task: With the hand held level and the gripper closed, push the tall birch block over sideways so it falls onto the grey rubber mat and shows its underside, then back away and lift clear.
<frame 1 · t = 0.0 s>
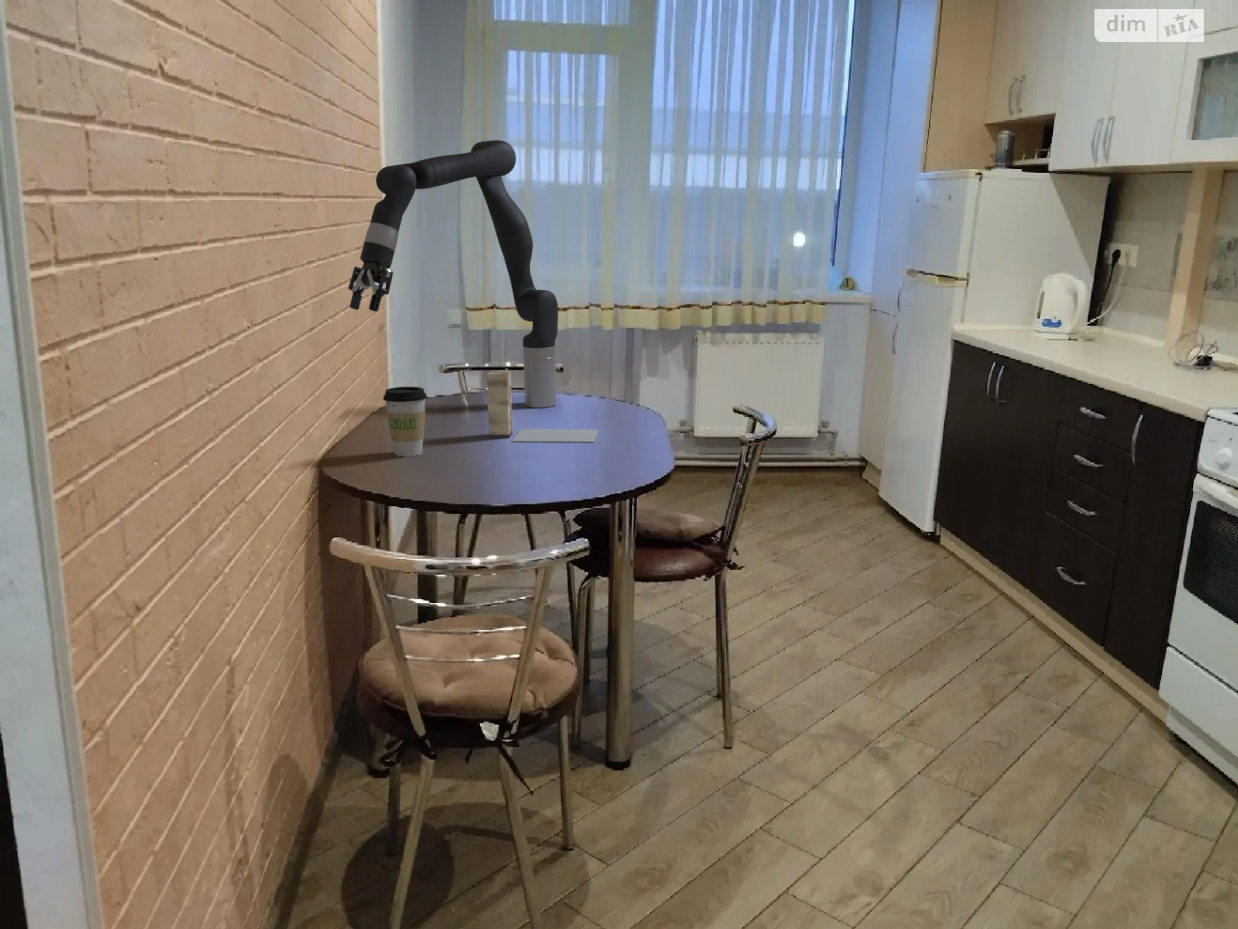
hand: (363, 309, 237), 31 cm above the table, tool tilted 20°, fingers open, 8 cm apart
coffee cup: (408, 454, 226), on the table
grey mat: (556, 436, 243), on the table
birch block: (501, 435, 244), on the table
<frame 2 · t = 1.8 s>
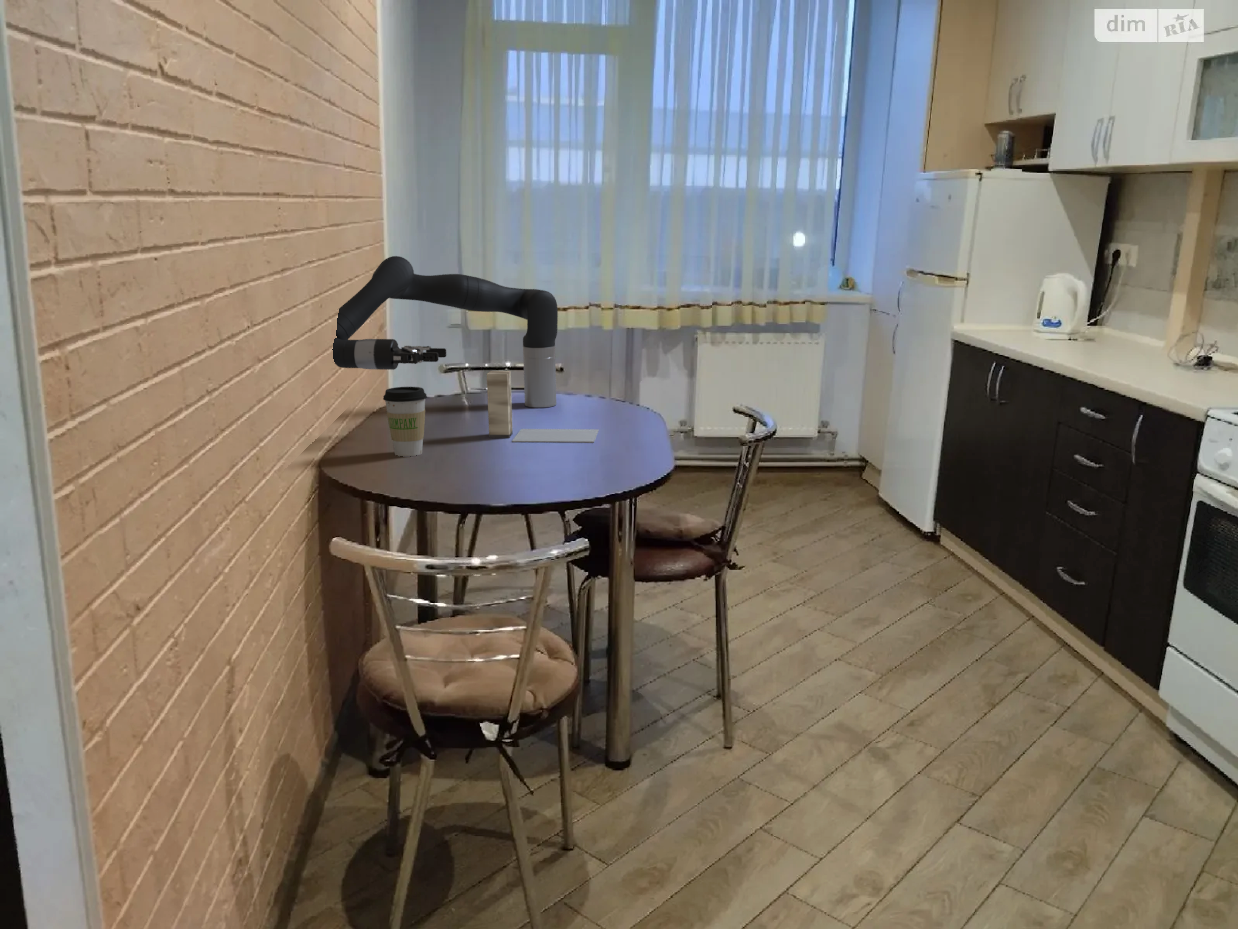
hand: (442, 354, 240), 20 cm above the table, tool horizontal, fingers open, 7 cm apart
nothing on the table moved.
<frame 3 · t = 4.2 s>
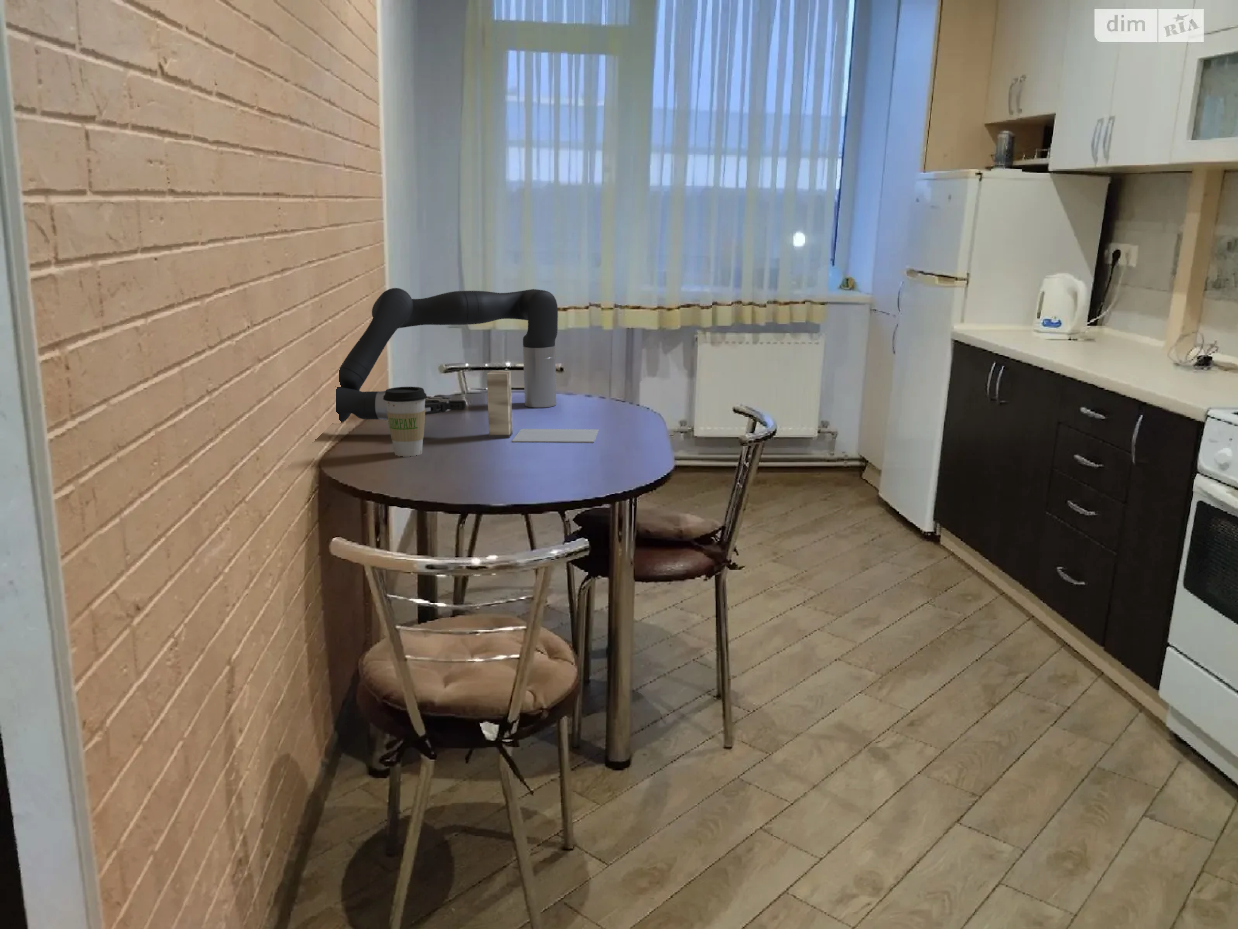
hand: (465, 404, 243), 8 cm above the table, tool horizontal, fingers closed
nothing on the table moved.
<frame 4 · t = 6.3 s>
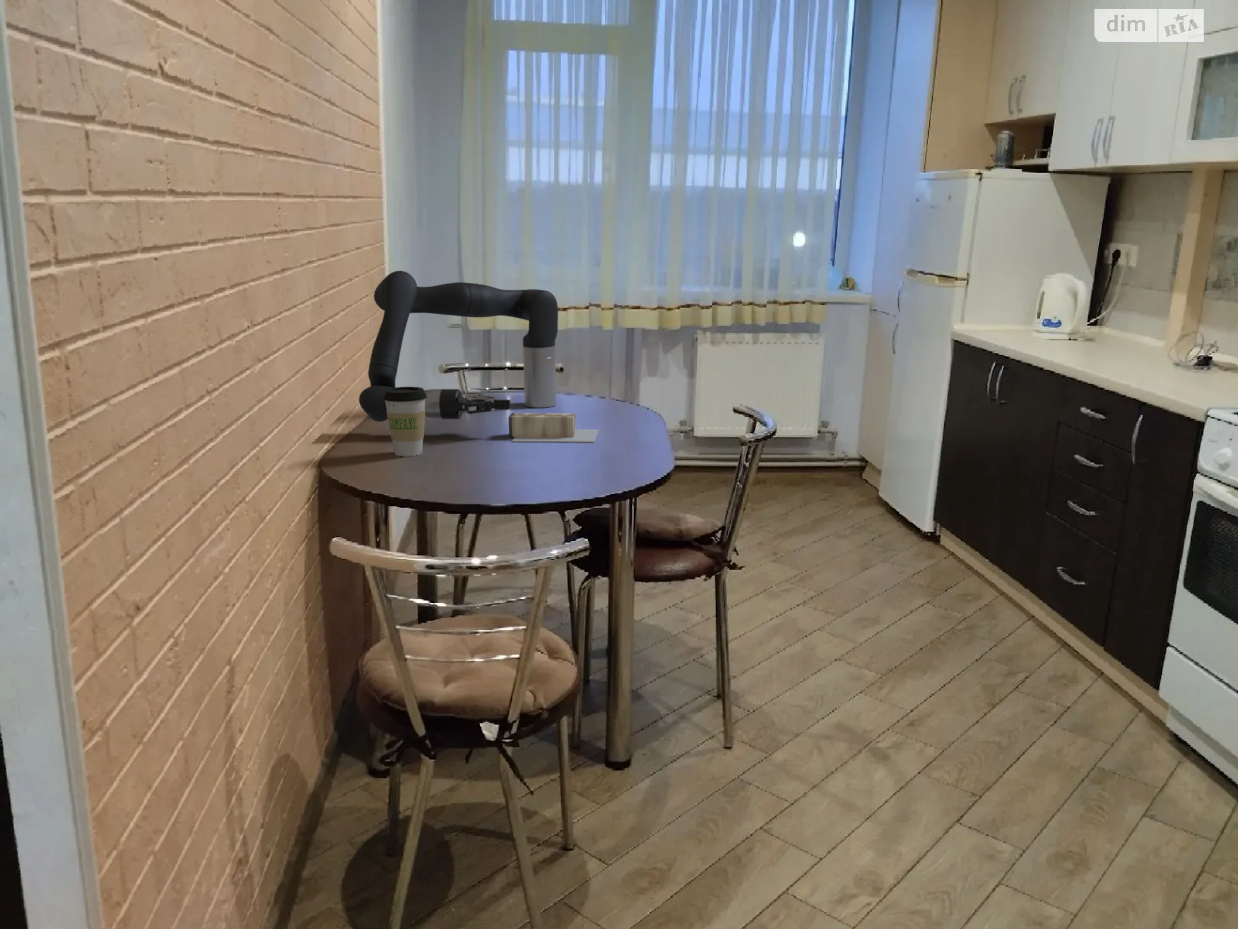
hand: (510, 404, 242), 8 cm above the table, tool horizontal, fingers closed
birch block: (510, 424, 243), point 3 cm above the table, tilted 90°, touching grey mat
everything else where it was.
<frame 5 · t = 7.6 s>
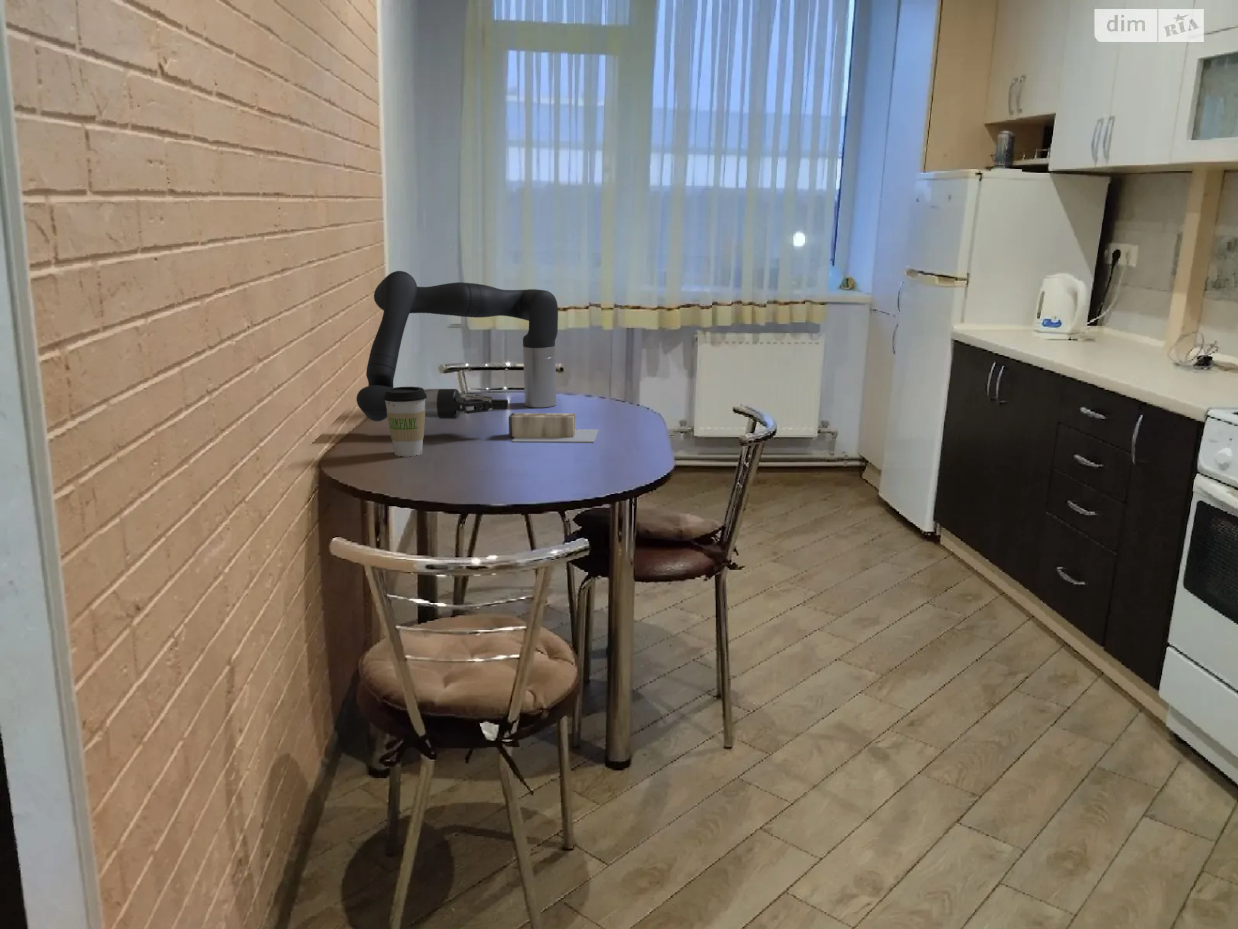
hand: (507, 404, 242), 8 cm above the table, tool horizontal, fingers closed
nothing on the table moved.
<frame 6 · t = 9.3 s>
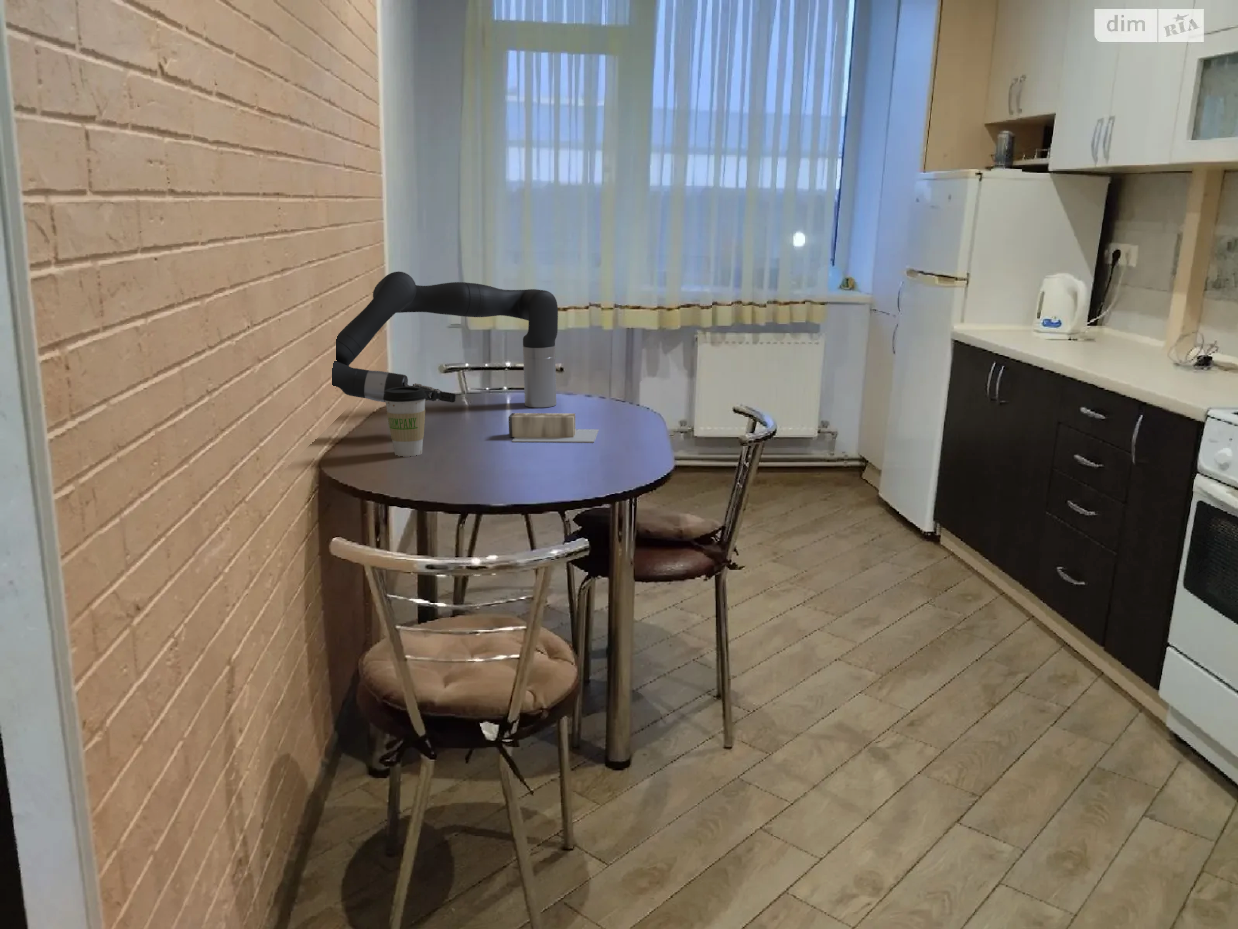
hand: (455, 398, 242), 9 cm above the table, tool horizontal, fingers closed
nothing on the table moved.
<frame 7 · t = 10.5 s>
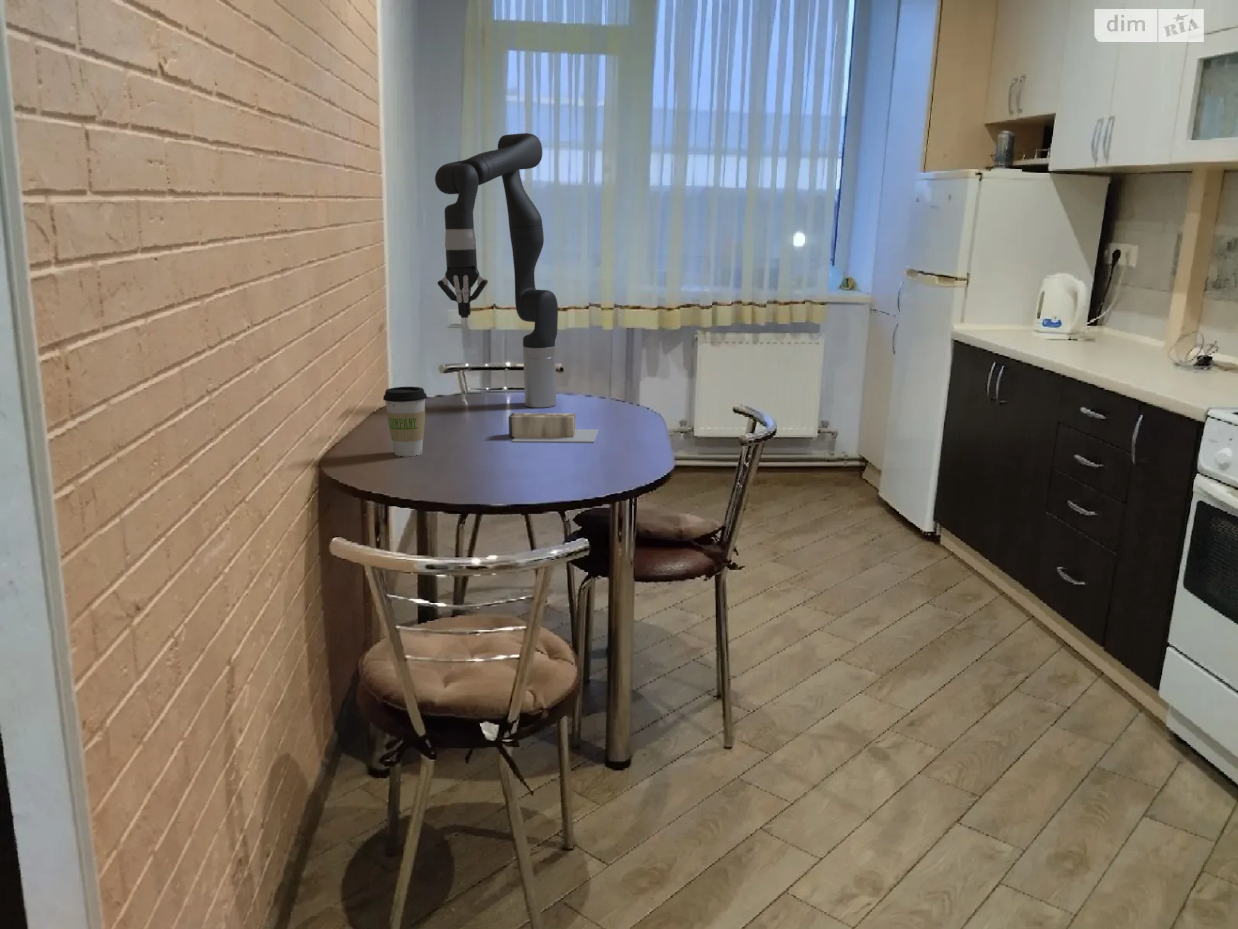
hand: (464, 317, 247), 28 cm above the table, tool pointing down, fingers closed
nothing on the table moved.
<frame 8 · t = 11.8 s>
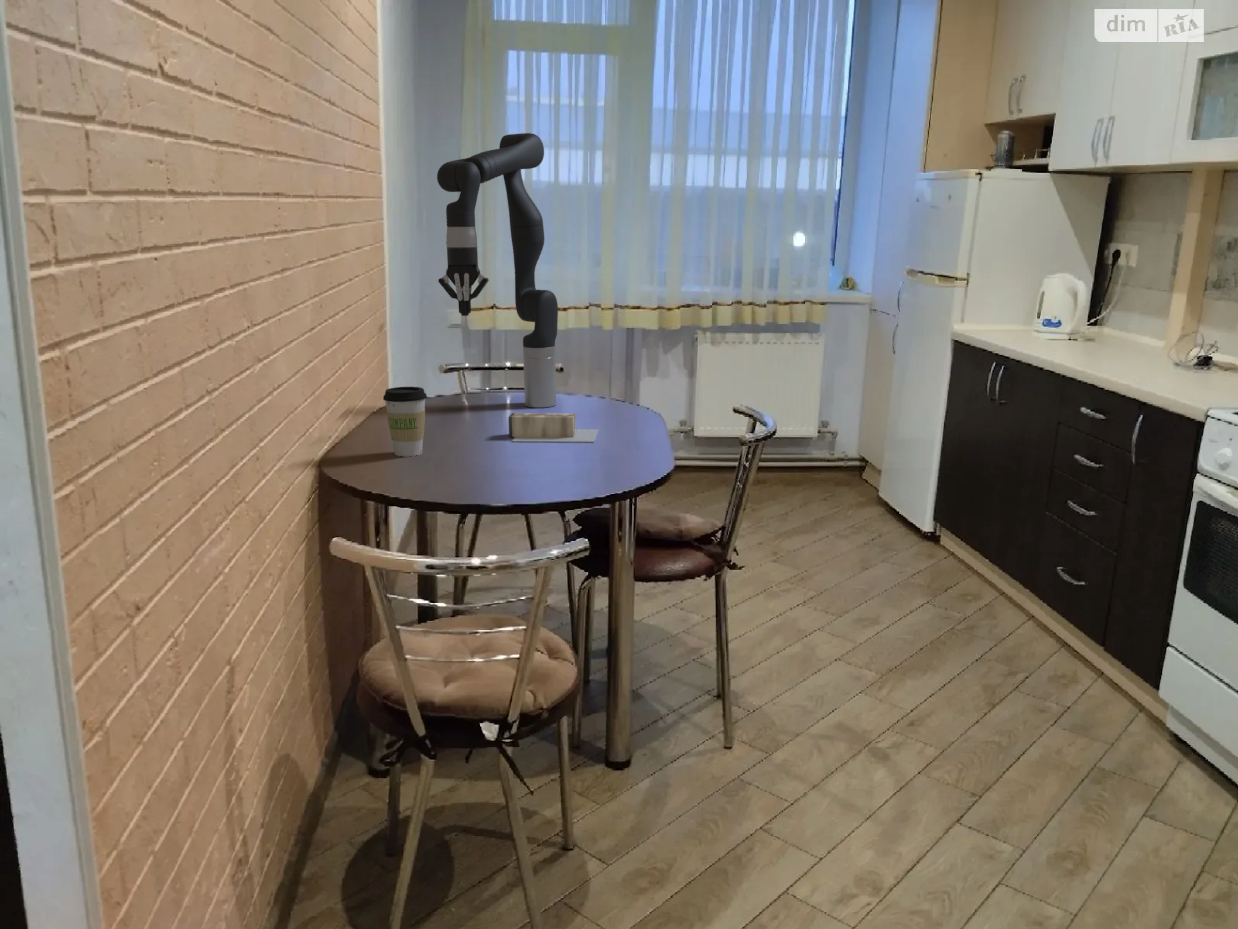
hand: (465, 315, 247), 29 cm above the table, tool pointing down, fingers closed
nothing on the table moved.
at the end: birch block tilted 90°; birch block inside the target area (2.5 cm from its centre), point 2.8 cm above the table; birch block touching grey mat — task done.
